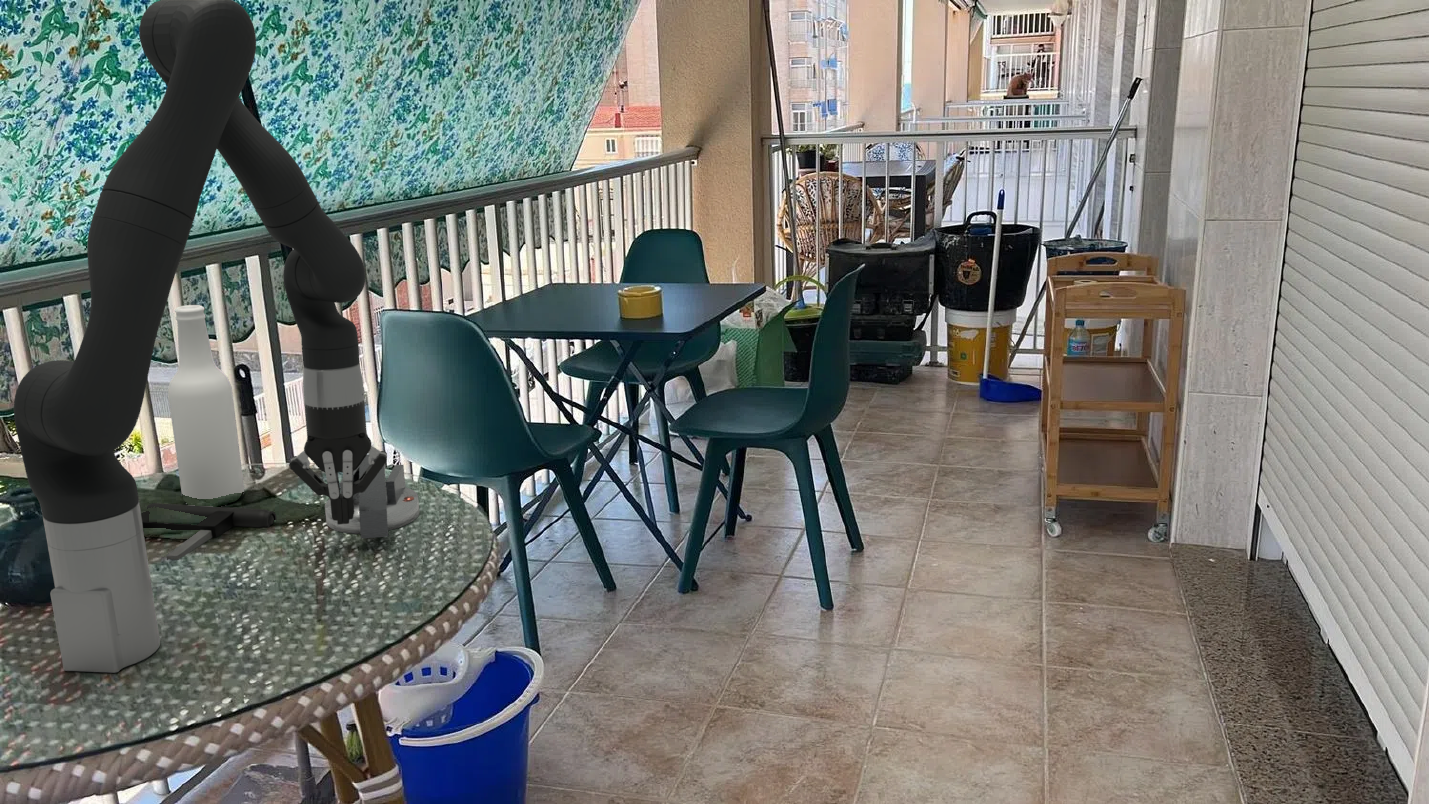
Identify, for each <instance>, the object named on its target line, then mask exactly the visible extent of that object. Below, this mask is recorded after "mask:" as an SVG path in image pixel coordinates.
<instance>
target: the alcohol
mask: <svg viewBox="0 0 1429 804" xmlns="http://www.w3.org/2000/svg"><path fill="white" fill-rule="evenodd" d="M204 311H205V307H204V306H202V304H201V305H199V304H190V305H189V304H188V305H180V306H177V307H176V308H175V309H174V312H175V314H176V316H175V320H176V322H177V345H178V368H177V371H175V374H174V375H173V376H172V378H171V380H170V382H169V383H168V390H167V391H168V392H167V397H168V404H169V411H170V418H171V427H172V433H173V434H172V435H173V439H174V440H173V441H174V447H175V448H174V449H175V453H176V455H175V456H176V462H177V468H178V476H179V477H178V478H179V483H180V489H181V495H182V494H183V495H185V496H189V497H192V498H197V499H213V498H218V497H221V496H226V495H229V494H234V493H242V492H244V493H245V485H244V484H245V483H244V475H243V468H242V467H243V466H242V459H241V451H240V443H239V434H238V427H237V426H238V425H237V419H236V418H237V417H236V410H235V402H234V401H235V400H234V394H233V386H232V385H231V382H230V379H229V377H228V376H227V375H226V374H225V373H224V371H222V370H221V369H220V368H219V367H217V364H216V363H215V361H214V357H213V353H212V347H211V343H210V342H211V341H210V339H209V338H210V337H209V332H208V328H207V324H206V323H207V322H206V314H205V312H204Z"/></svg>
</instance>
